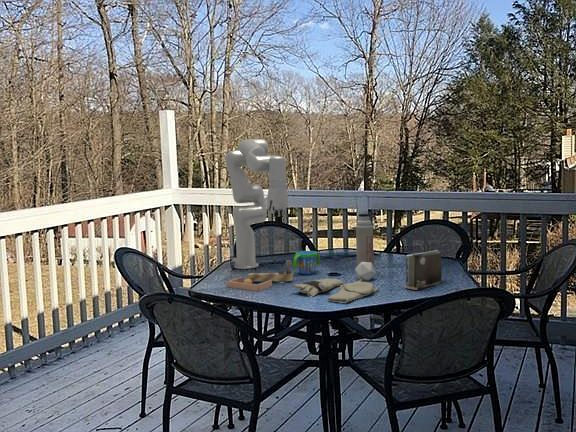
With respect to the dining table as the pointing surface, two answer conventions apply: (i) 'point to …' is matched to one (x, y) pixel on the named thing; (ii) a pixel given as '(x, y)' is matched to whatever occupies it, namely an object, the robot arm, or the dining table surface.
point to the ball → (248, 281)
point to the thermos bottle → (364, 240)
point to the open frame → (240, 285)
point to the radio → (423, 270)
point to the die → (365, 271)
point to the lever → (274, 274)
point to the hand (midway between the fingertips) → (278, 225)
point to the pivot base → (281, 281)
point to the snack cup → (306, 261)
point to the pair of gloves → (345, 291)
